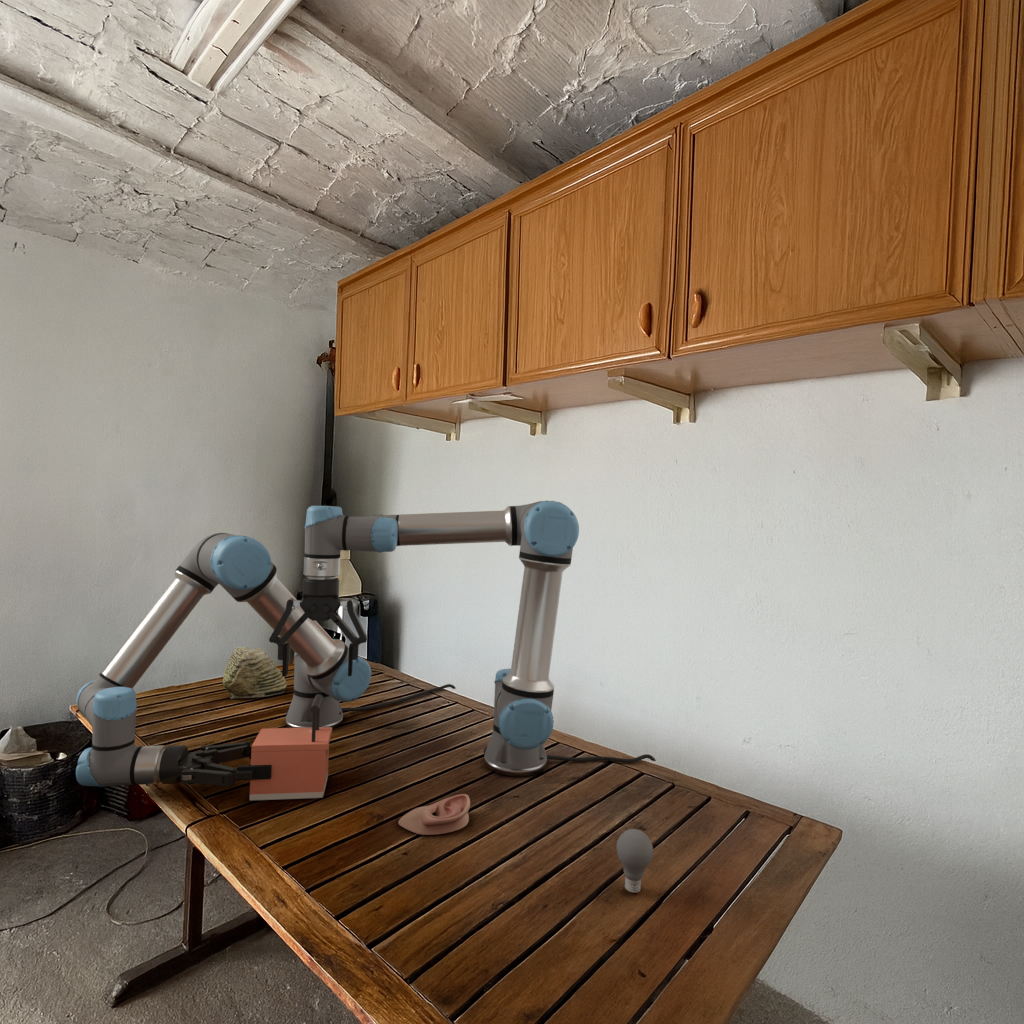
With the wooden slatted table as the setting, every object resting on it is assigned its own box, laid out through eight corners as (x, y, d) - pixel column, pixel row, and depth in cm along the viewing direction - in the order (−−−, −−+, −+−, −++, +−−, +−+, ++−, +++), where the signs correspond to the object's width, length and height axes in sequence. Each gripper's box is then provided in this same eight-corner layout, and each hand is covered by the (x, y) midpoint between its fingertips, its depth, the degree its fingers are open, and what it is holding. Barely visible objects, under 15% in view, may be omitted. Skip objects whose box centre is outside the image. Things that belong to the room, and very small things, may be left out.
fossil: (218, 695, 195) (220, 647, 195) (278, 685, 208) (279, 640, 207) (228, 703, 189) (230, 653, 188) (289, 692, 201) (290, 645, 201)
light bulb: (610, 879, 108) (613, 822, 108) (644, 879, 109) (647, 822, 109) (619, 902, 102) (622, 840, 102) (655, 901, 103) (658, 840, 103)
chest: (327, 777, 143) (329, 732, 143) (322, 797, 133) (324, 750, 133) (259, 779, 140) (261, 734, 140) (249, 800, 131) (251, 752, 131)
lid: (331, 732, 143) (333, 692, 143) (327, 749, 133) (329, 706, 133) (261, 734, 140) (262, 693, 140) (251, 751, 131) (253, 707, 130)
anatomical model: (392, 810, 121) (414, 784, 132) (391, 830, 121) (413, 803, 132) (459, 820, 118) (475, 792, 130) (458, 841, 118) (474, 812, 130)
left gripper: (181, 760, 143) (284, 757, 147) (142, 808, 121) (264, 803, 125) (182, 727, 143) (285, 725, 147) (143, 769, 121) (265, 766, 125)
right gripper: (257, 578, 131) (253, 679, 131) (380, 580, 135) (376, 679, 136) (264, 573, 138) (260, 670, 139) (380, 576, 143) (377, 669, 143)
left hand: (275, 761), depth 136 cm, fingers closed on chest, 10 cm apart
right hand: (317, 674), depth 137 cm, fingers open, 13 cm apart
